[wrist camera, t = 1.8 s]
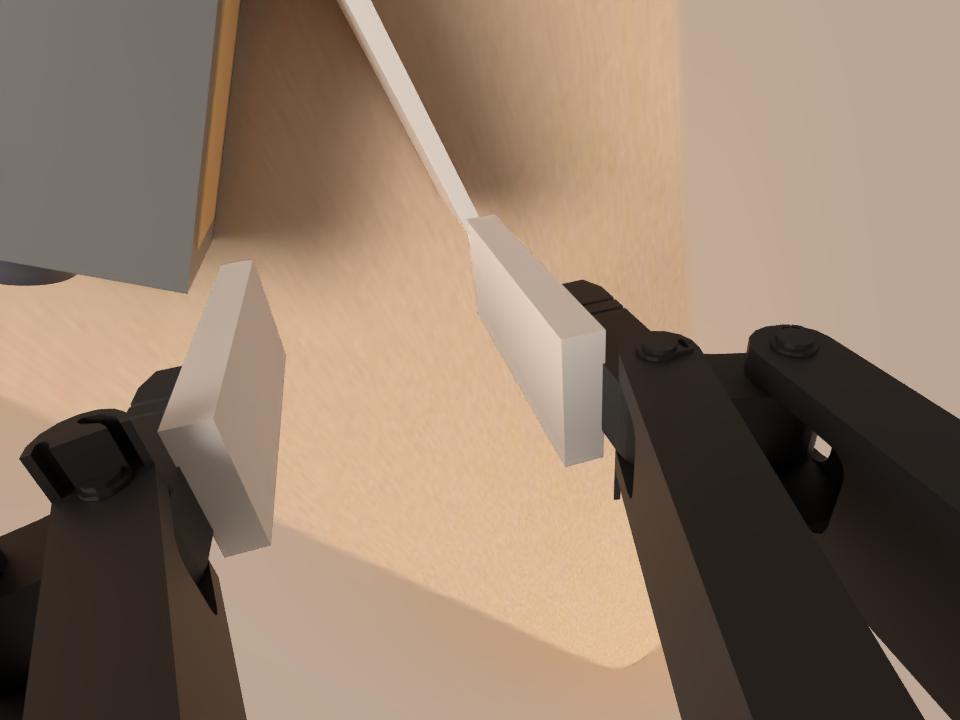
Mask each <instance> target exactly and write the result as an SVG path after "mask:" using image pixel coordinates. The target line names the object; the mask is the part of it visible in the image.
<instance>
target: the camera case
mask: <svg viewBox="0 0 960 720" xmlns="http://www.w3.org/2000/svg"><path fill="white" fill-rule="evenodd" d="M240 6H241V0H0V284H5V285H19V286H31V285H46V284H53V283H58V282H62V281H65V280H68V279H70V278H72V277H74V276H75V275H76V274H80V275H85V276H91V277H97V278H102V279H108V280H113V281H119V282H124V283H130V284H136V285H141V286H147V287H152V288H158V289H163V290H169V291H175V292H180V293H186V294H187V293H188V291H189V289H190V287H191V285H192V283H193V280H194V278H195V276H196V274H197V272H198V270H199V267H200V265H201V263H202V261H203V259H204V257H205V254H206V252H207V250H208V248H209V246H210V244H211V241H212V239H213V231H214V223H215V214H216V206H217V198H218V189H219V181H220V173H221V164H222V156H223V148H224V139H225V131H226V123H227V114H228V106H229V98H230V89H231V81H232V73H233V64H234V56H235V48H236V39H237V31H238V23H239V14H240Z"/></svg>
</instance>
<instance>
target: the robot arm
mask: <svg viewBox="0 0 960 720" xmlns="http://www.w3.org/2000/svg"><path fill="white" fill-rule="evenodd" d="M466 222H467V230H468V239H469V247H470V255H471V264H472V272H473V280H474V289H475V297H476V306H477V314H478V315H479V317H480V319H481V321H482V322H483V324H484V326H485V328H486V329H487V331H488V333H489V335H490V336H491V338H492V340H493V342H494V343H495V345H496V347H497V349H498V350H499V352H500V354H501V356H502V357H503V359H504V361H505V363H506V364H507V366H508V368H509V370H510V371H511V373H512V375H513V377H514V378H515V380H516V382H517V384H518V385H519V387H520V389H521V391H522V392H523V394H524V396H525V398H526V399H527V401H528V403H529V405H530V406H531V408H532V410H533V412H534V413H535V415H536V417H537V419H538V420H539V422H540V424H541V426H542V427H543V429H544V431H545V433H546V434H547V436H548V438H549V440H550V441H551V443H552V445H553V447H554V448H555V450H556V452H557V454H558V455H559V457H560V459H561V461H562V462H563V464H564V466H565V467H567V466H571V465H575V464H579V463H582V462H586V461H590V460H594V459H597V458H601V457H603V447H604V433H605V435H606V436H607V438H608V439H609V440H610V442H611V443H612V445H613V446H614V447H615V449H616V451H615V479H614V500H617V499H620V492H621V494H622V498H623V501H624V505H625V509H626V513H627V516H628V520H629V524H630V528H631V531H632V535H633V539H634V543H635V546H636V550H637V554H638V558H639V561H640V565H641V569H642V573H643V576H644V580H645V584H646V588H647V592H648V595H649V599H650V603H651V607H652V610H653V614H654V618H655V622H656V625H657V629H658V633H659V637H660V640H661V644H662V648H663V652H664V655H665V659H666V662H667V666H668V670H669V674H670V678H671V681H672V685H673V689H674V693H675V697H676V700H677V703H678V708H679V712H680V715H681V719H682V720H925V719H924V718H923V716H922V714H921V712H920V711H919V709H918V708H917V706H916V704H915V703H914V701H913V699H912V698H911V696H910V695H909V693H908V691H907V689H906V688H905V686H904V684H903V683H902V681H901V680H900V678H899V676H898V674H897V673H896V671H895V670H894V668H893V666H892V665H891V663H890V661H889V660H888V658H887V657H886V655H885V653H884V651H883V650H882V648H881V647H880V645H879V643H878V642H877V640H876V638H875V637H874V635H873V633H872V632H871V630H870V628H871V629H872V630H873V632H874V633H875V634H876V635H877V636H878V637H879V638H880V639H881V640H882V642H883V643H884V644H885V645H886V646H887V647H888V648H889V650H890V651H891V652H892V653H893V654H894V655H895V656H896V657H897V659H898V660H899V661H900V662H901V663H902V664H903V665H904V666H905V667H906V669H907V670H908V671H909V672H910V673H911V674H912V675H913V676H914V678H915V679H916V680H917V681H918V682H919V683H920V684H921V686H922V687H923V688H924V689H925V690H926V691H927V692H928V693H929V695H931V697H932V698H933V699H934V700H935V701H936V702H937V704H938V705H939V706H940V707H941V708H942V709H943V710H944V712H945V713H946V714H947V715H948V716H949V717H950V718H951V719H952V720H960V419H958V418H957V417H955V416H954V415H952V414H951V413H949V412H947V411H946V410H944V409H943V408H941V407H939V406H938V405H936V404H935V403H933V402H931V401H930V400H928V399H927V398H925V397H924V396H922V395H920V394H919V393H917V392H916V391H914V390H913V389H911V388H909V387H908V386H906V385H905V384H903V383H902V382H900V381H898V380H897V379H895V378H893V377H892V376H891V375H889V374H887V373H886V372H884V371H883V370H881V369H879V368H878V367H876V366H875V365H873V364H872V363H870V362H868V361H867V360H865V359H864V358H862V357H860V356H859V355H857V354H856V353H854V352H853V351H851V350H849V349H848V348H846V347H845V346H843V345H842V344H840V343H838V342H837V341H835V340H834V339H832V338H830V337H829V336H827V335H824V334H822V333H820V332H818V331H816V330H812V329H808V328H804V327H802V326H798V325H792V326H790V325H776V326H767V327H764V328H761V329H759V330H756V331H755V332H754V333H753V334H752V335H751V336H750V337H749V341H748V347H747V352H746V353H734V354H703V352H702V351H701V349H700V348H699V347H698V346H697V345H696V344H695V343H694V342H693V341H692V340H691V339H688V338H686V337H684V336H682V335H680V334H675V333H670V332H666V331H650V330H649V329H648V328H646V327H645V326H644V325H643V324H642V323H641V322H640V321H639V320H638V319H637V318H635V317H634V316H633V315H632V314H631V313H630V312H629V311H628V310H627V309H626V308H623V306H622V305H621V304H620V303H619V302H618V301H617V300H616V299H615V300H614V299H613V297H612V296H611V295H610V294H609V293H608V292H607V291H606V290H605V289H603V288H602V287H601V286H598V285H595V284H593V283H590V282H588V281H585V280H579V281H574V282H570V283H565V284H561V283H560V282H559V281H558V280H557V279H556V278H555V277H554V275H553V274H552V273H551V272H550V271H549V270H548V269H547V268H546V267H545V266H544V265H543V264H542V263H541V262H540V261H539V260H538V259H537V258H536V257H535V256H534V255H533V254H532V253H531V252H530V251H529V249H528V248H527V247H526V246H525V245H524V244H523V243H522V242H521V241H520V240H519V239H518V238H517V237H516V236H515V235H514V234H513V233H512V232H511V231H510V230H509V229H508V228H507V227H506V226H505V224H504V223H503V222H502V221H501V220H500V219H499V218H498V217H497V216H496V215H495V214H493V215H488V216H482V217H477V218H471V219H466ZM285 360H286V354H285V351H284V348H283V345H282V342H281V339H280V336H279V333H278V330H277V327H276V324H275V321H274V318H273V316H272V313H271V310H270V307H269V304H268V301H267V298H266V295H265V292H264V289H263V286H262V283H261V281H260V278H259V275H258V272H257V269H256V266H255V263H254V260H253V259H251V260H245V261H240V262H234V263H229V264H224V265H220V268H219V270H218V273H217V276H216V278H215V281H214V284H213V286H212V289H211V291H210V294H209V297H208V299H207V302H206V305H205V307H204V310H203V313H202V315H201V318H200V321H199V323H198V326H197V328H196V331H195V334H194V336H193V339H192V342H191V344H190V347H189V350H188V352H187V355H186V357H185V360H184V363H183V365H182V366H179V367H175V368H170V369H165V370H160V371H156V372H155V373H154V374H153V375H152V376H151V377H150V378H149V379H148V380H147V381H146V382H144V383H143V384H142V385H141V386H140V387H139V388H138V390H137V392H136V394H135V396H134V399H133V401H132V403H131V407H130V408H129V409H128V411H127V413H126V412H124V411H120V410H117V409H98V410H94V411H90V412H86V413H82V414H79V415H76V416H74V417H71V418H69V419H67V420H64V421H62V422H60V423H58V424H56V425H54V426H53V427H51V428H50V429H48V430H46V431H44V432H43V433H41V434H40V435H38V436H37V437H36V438H35V439H34V440H33V441H32V442H31V443H30V444H29V445H27V447H26V448H25V449H24V451H23V453H22V455H21V456H20V458H19V459H20V460H21V462H22V463H23V465H24V466H25V467H26V469H27V470H28V471H29V473H30V474H31V476H32V477H33V478H34V480H35V481H36V483H37V484H38V485H39V487H40V488H41V489H42V491H43V492H44V493H45V495H46V496H47V498H48V499H49V500H50V502H51V503H52V506H51V512H50V515H48V516H46V517H44V518H42V519H40V520H38V521H35V522H33V523H31V524H29V525H26V526H24V527H21V528H19V529H17V530H14V531H12V532H10V533H8V534H6V535H3V536H1V537H0V720H247V719H246V714H245V709H244V704H243V699H242V693H241V689H240V683H239V679H238V673H237V668H236V664H235V658H234V653H233V648H232V643H231V638H230V633H229V628H228V623H227V618H226V613H225V608H224V603H223V598H222V593H221V587H220V582H219V578H218V575H217V574H216V572H215V570H214V568H213V567H212V565H211V563H210V561H209V559H208V557H209V552H210V547H211V542H212V537H214V539H215V541H216V542H217V544H218V546H219V548H220V550H221V552H222V554H223V556H224V557H228V556H232V555H236V554H240V553H243V552H247V551H251V550H255V549H259V548H262V547H266V546H270V545H271V538H272V525H273V512H274V499H275V487H276V474H277V461H278V449H279V436H280V423H281V411H282V398H283V385H284V372H285ZM817 435H818V436H820V437H821V438H822V439H823V440H824V441H825V442H827V443H828V444H829V445H830V446H831V447H832V449H831V453H830V456H829V457H828V458H827V457H825V456H823V455H822V454H821V453H819V452H818V451H817V450H816V449H815V448H814V445H815V442H816V438H817ZM868 626H869V627H870V628H869V627H868Z"/></svg>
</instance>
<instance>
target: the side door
mask: <svg viewBox="0 0 960 720" xmlns="http://www.w3.org/2000/svg"><path fill="white" fill-rule="evenodd" d="M336 1H337V2H338V4H339V6H340V8H341V10H342V12H343V14H344V16H345V18H346V19H347V21H348V23H349V25H350V27H351V29H352V31H353V33H354V34H355V36H356V38H357V40H358V42H359V44H360V46H361V48H362V50H363V51H364V53H365V55H366V57H367V59H368V61H369V63H370V65H371V66H372V68H373V70H374V72H375V74H376V76H377V78H378V80H379V81H380V83H381V85H382V87H383V89H384V91H385V93H386V95H387V97H388V98H389V100H390V102H391V104H392V106H393V108H394V110H395V112H396V113H397V115H398V117H399V119H400V121H401V123H402V125H403V127H404V129H405V130H406V132H407V134H408V136H409V138H410V140H411V142H412V144H413V145H414V147H415V149H416V151H417V153H418V155H419V157H420V159H421V161H422V162H423V164H424V166H425V168H426V170H427V172H428V174H429V176H430V177H431V179H432V181H433V183H434V185H435V187H436V189H437V191H438V192H439V194H440V196H441V198H442V200H443V201H444V202H445V204H446V205H447V206H448V208H449V209H450V210H451V212H452V213H453V214H454V216H455V217H456V218H457V220H458V221H459V222H460V224H461V225H462V226H463V228H464V229H465V230H466V232H468V230H467V222H466V219H471V218H477V217H479V216H478V214H477V212H476V210H475V208H474V206H473V204H472V202H471V200H470V198H469V196H468V194H467V192H466V190H465V188H464V186H463V184H462V182H461V180H460V178H459V176H458V174H457V172H456V170H455V168H454V166H453V164H452V162H451V160H450V158H449V156H448V154H447V152H446V150H445V148H444V146H443V144H442V142H441V140H440V138H439V136H438V134H437V132H436V130H435V128H434V126H433V124H432V122H431V120H430V118H429V116H428V114H427V112H426V110H425V108H424V106H423V104H422V102H421V100H420V98H419V96H418V94H417V92H416V90H415V88H414V86H413V84H412V82H411V80H410V78H409V76H408V74H407V72H406V70H405V68H404V66H403V64H402V62H401V60H400V58H399V56H398V54H397V52H396V50H395V48H394V46H393V44H392V42H391V40H390V38H389V36H388V34H387V32H386V30H385V28H384V26H383V24H382V22H381V20H380V18H379V16H378V14H377V12H376V10H375V8H374V6H373V4H372V2H371V0H336Z"/></svg>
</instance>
